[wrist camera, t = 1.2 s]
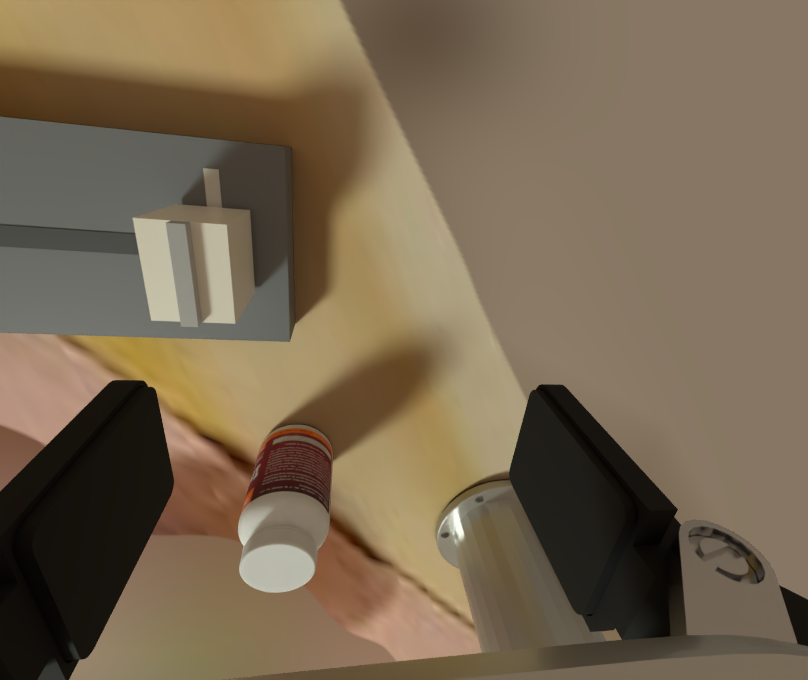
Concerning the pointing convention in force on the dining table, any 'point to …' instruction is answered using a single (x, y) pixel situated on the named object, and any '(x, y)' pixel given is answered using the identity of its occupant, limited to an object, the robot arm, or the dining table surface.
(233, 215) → the fader knob
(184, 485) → the dining table surface
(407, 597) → the dining table surface
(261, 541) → the pill bottle
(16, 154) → the fader console
